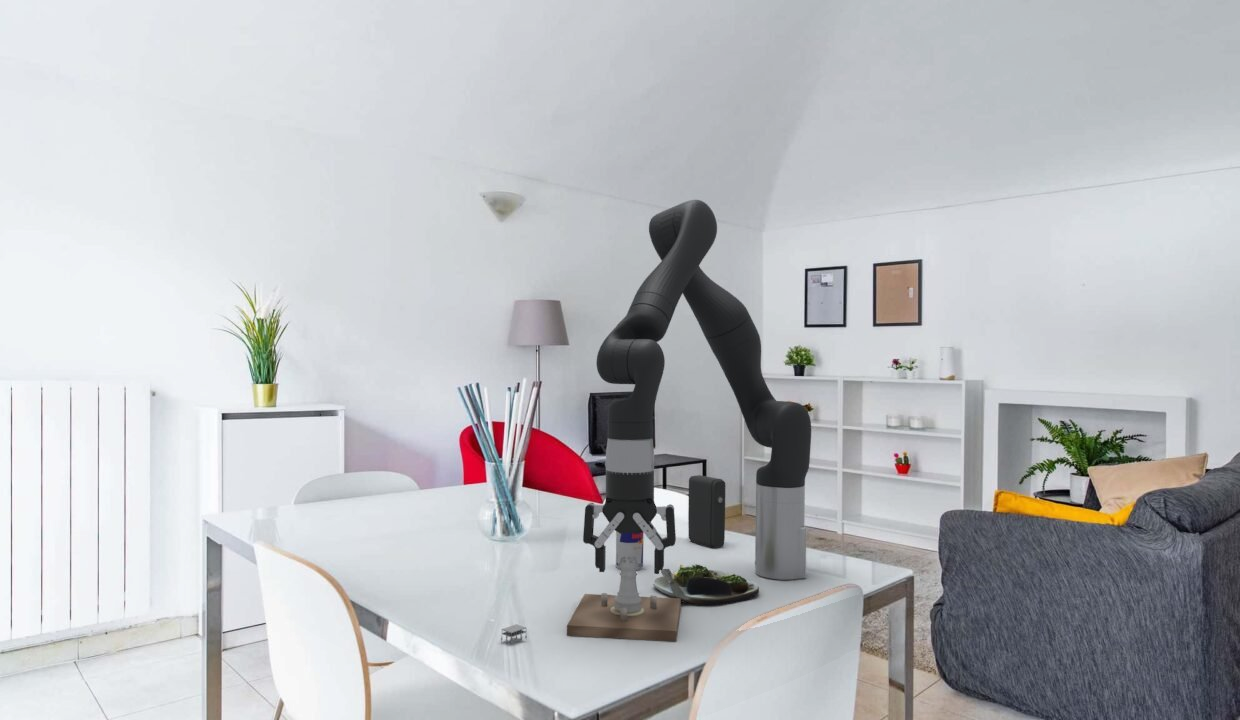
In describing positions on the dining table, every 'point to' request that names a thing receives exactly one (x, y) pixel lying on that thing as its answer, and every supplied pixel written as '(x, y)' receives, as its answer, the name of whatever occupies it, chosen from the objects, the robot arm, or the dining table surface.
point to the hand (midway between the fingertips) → (629, 571)
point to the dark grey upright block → (706, 511)
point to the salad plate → (705, 586)
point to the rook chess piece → (628, 586)
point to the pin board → (626, 619)
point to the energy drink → (629, 547)
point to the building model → (514, 632)
